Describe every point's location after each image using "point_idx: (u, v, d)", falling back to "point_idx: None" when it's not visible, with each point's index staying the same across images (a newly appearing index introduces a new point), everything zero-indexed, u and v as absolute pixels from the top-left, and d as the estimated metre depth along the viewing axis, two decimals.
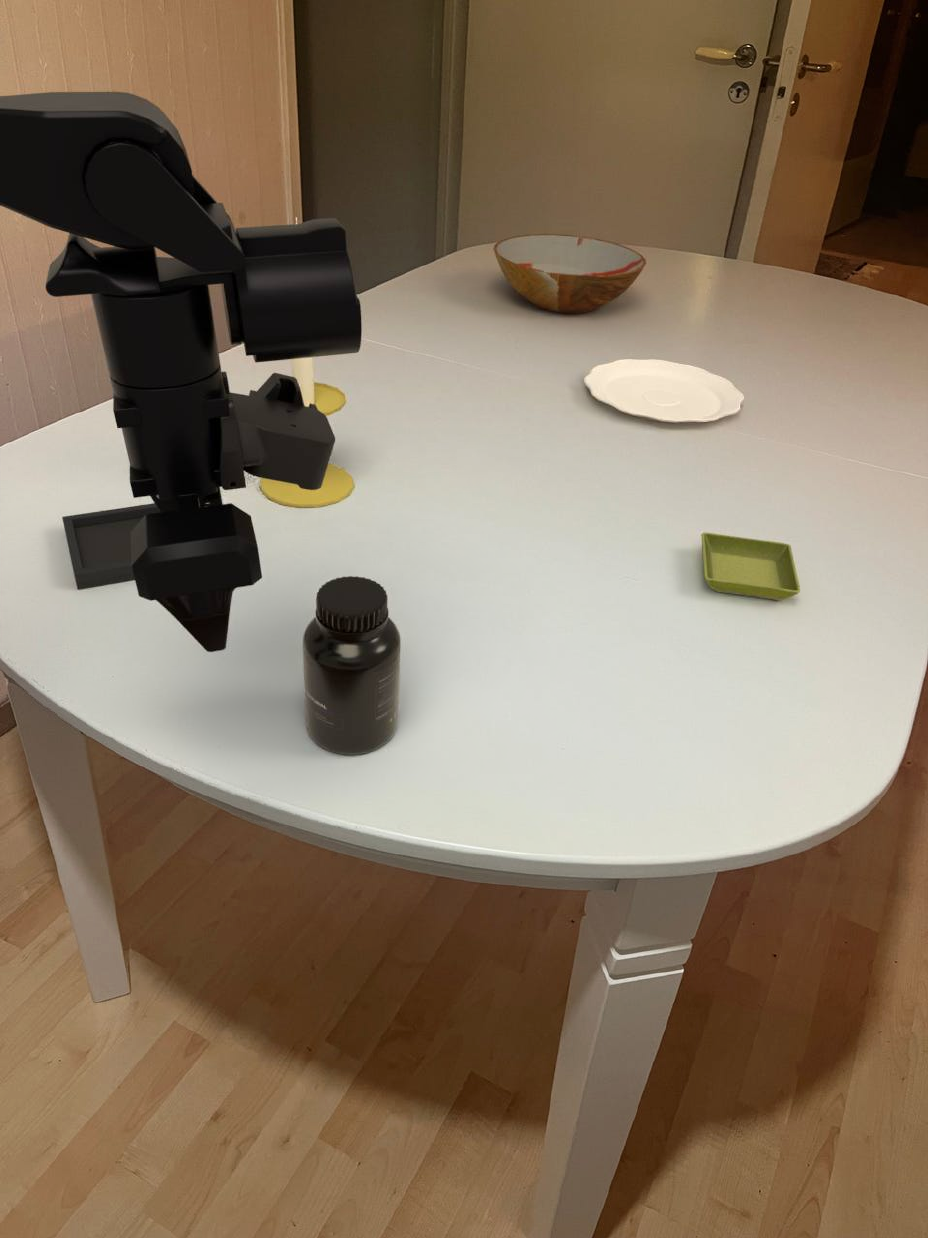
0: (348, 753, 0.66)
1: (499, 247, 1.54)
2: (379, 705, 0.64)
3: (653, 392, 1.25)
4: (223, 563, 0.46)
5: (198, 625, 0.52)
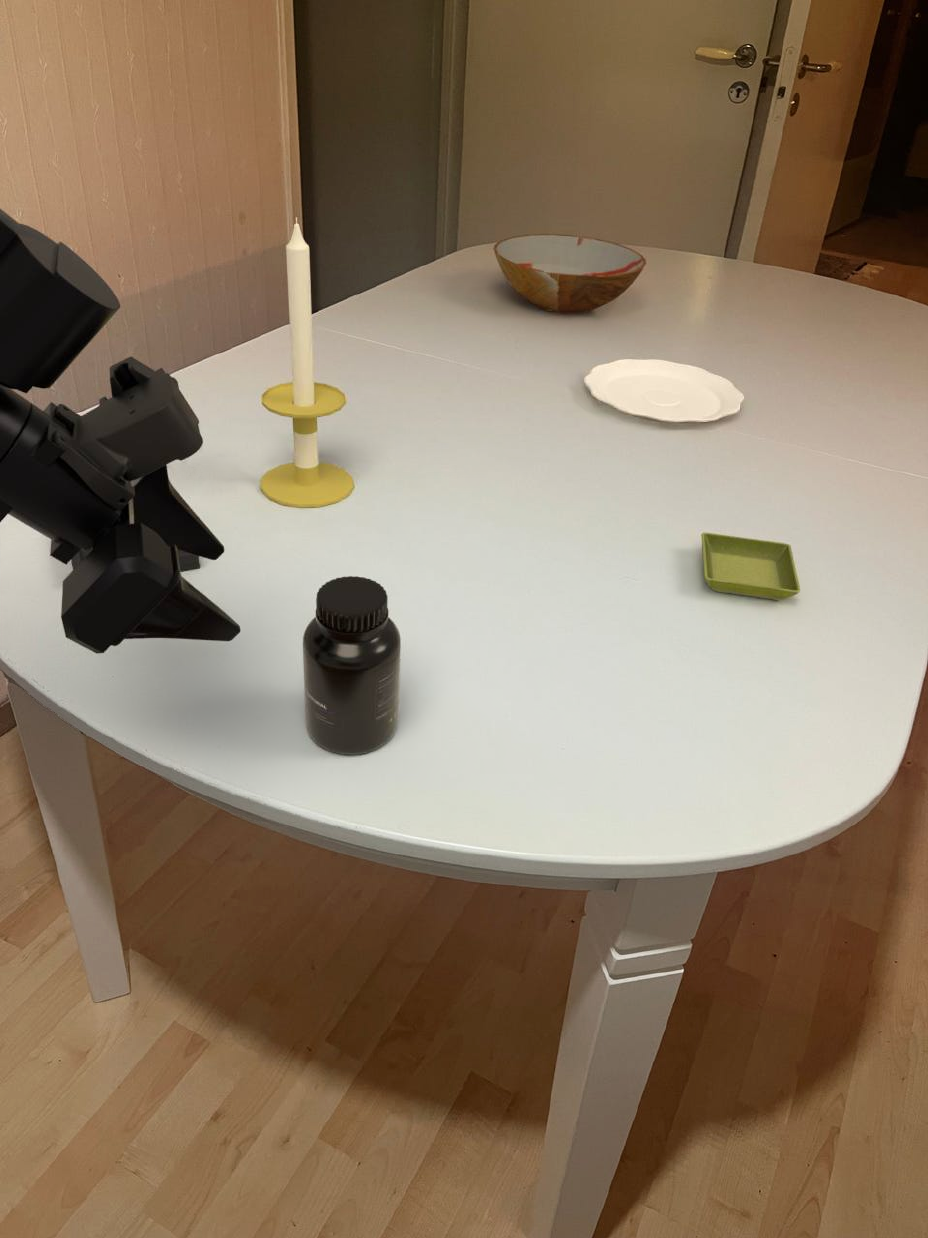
0: (348, 753, 0.66)
1: (499, 247, 1.54)
2: (379, 705, 0.64)
3: (653, 392, 1.25)
4: (125, 589, 0.46)
5: (194, 630, 0.53)
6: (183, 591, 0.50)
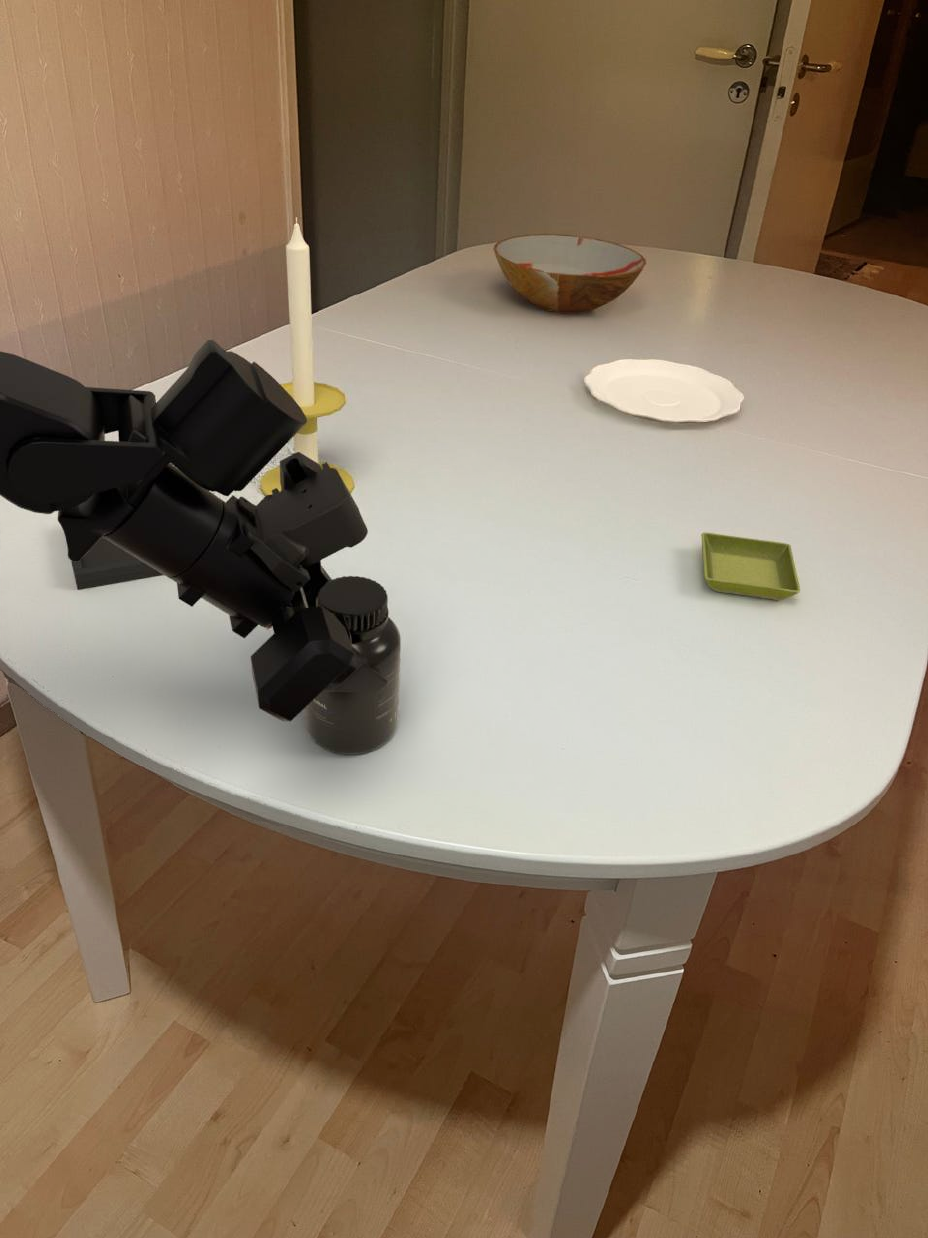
0: (348, 753, 0.66)
1: (499, 247, 1.54)
2: (379, 705, 0.64)
3: (653, 392, 1.25)
4: (315, 667, 0.53)
5: (351, 684, 0.61)
6: None
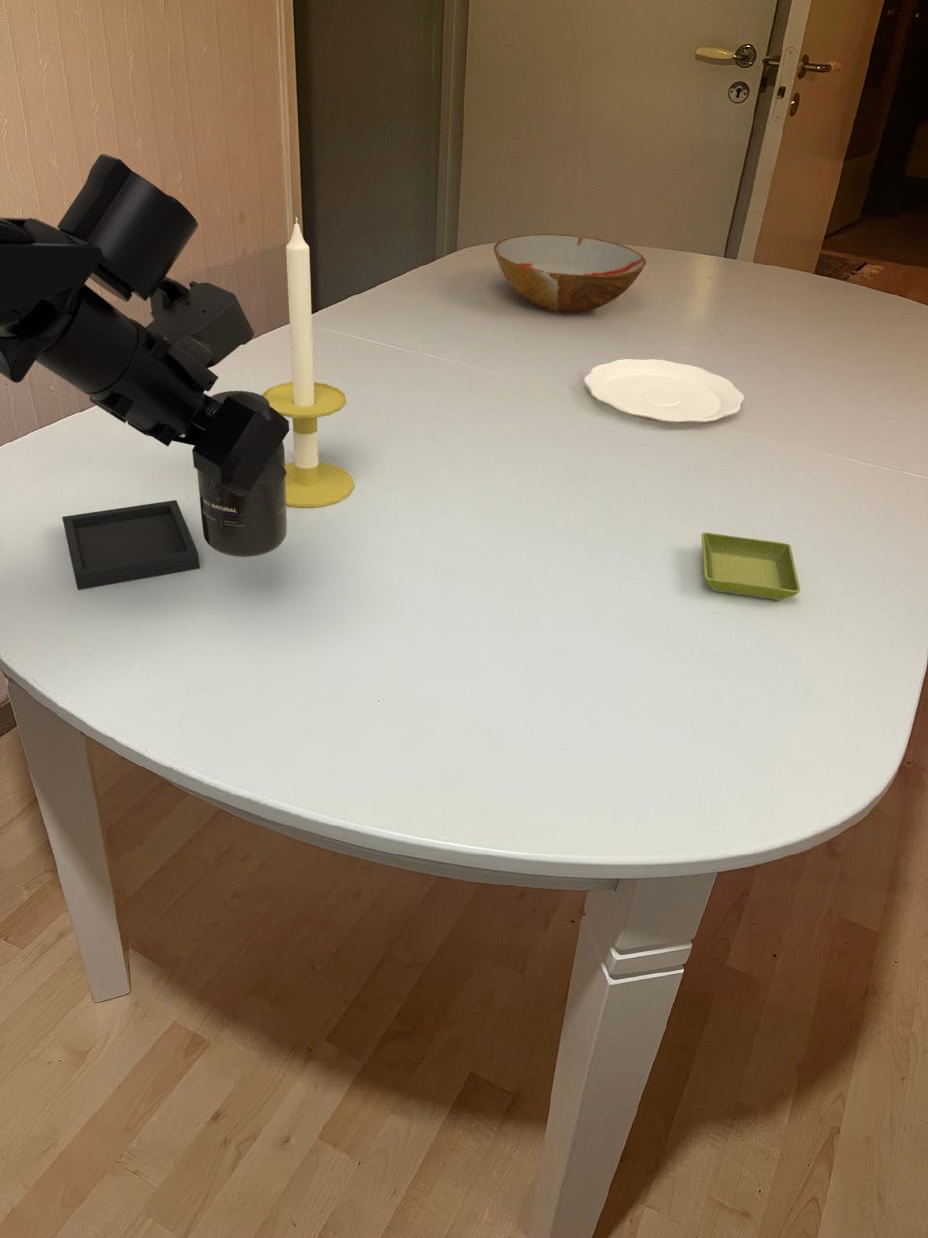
0: (259, 553, 0.75)
1: (499, 247, 1.54)
2: (279, 499, 0.73)
3: (653, 392, 1.25)
4: (265, 434, 0.61)
5: (263, 474, 0.69)
6: None
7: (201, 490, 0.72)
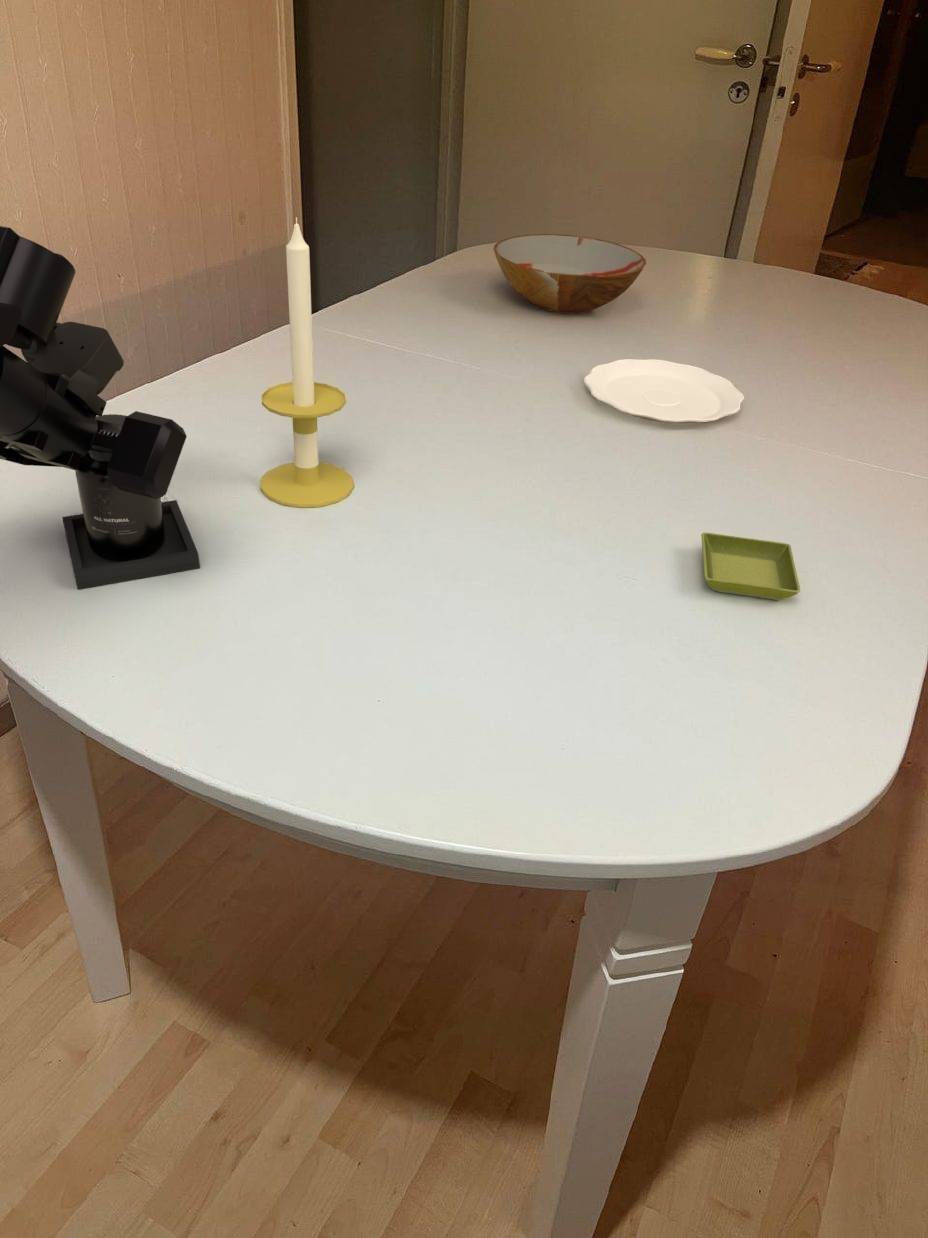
0: (150, 553, 0.84)
1: (499, 247, 1.54)
2: (159, 503, 0.84)
3: (653, 392, 1.25)
4: (171, 443, 0.73)
5: None
6: None
7: (89, 509, 0.81)
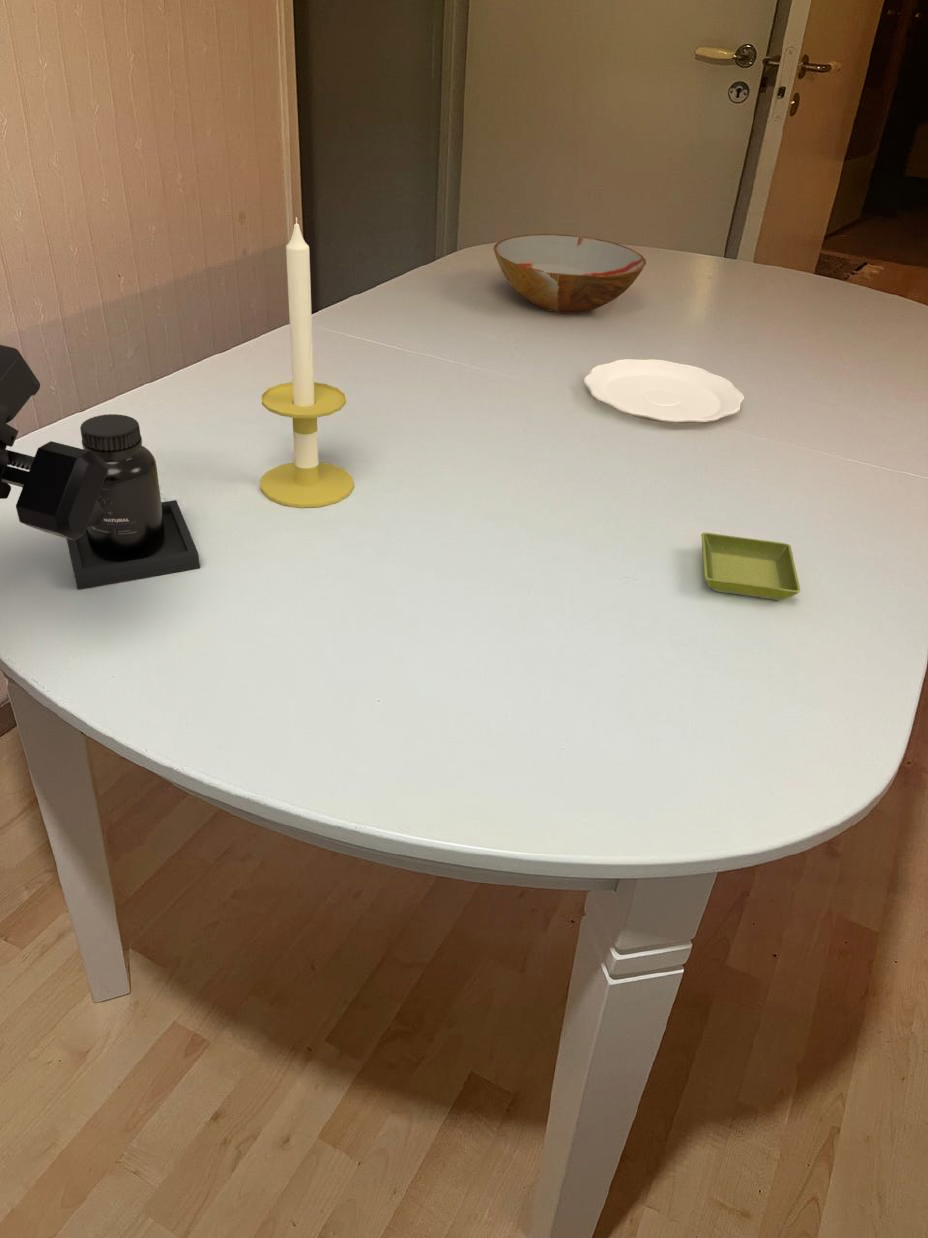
0: (150, 553, 0.84)
1: (499, 247, 1.54)
2: (159, 503, 0.84)
3: (653, 392, 1.25)
4: (89, 477, 0.65)
5: None
6: None
7: None
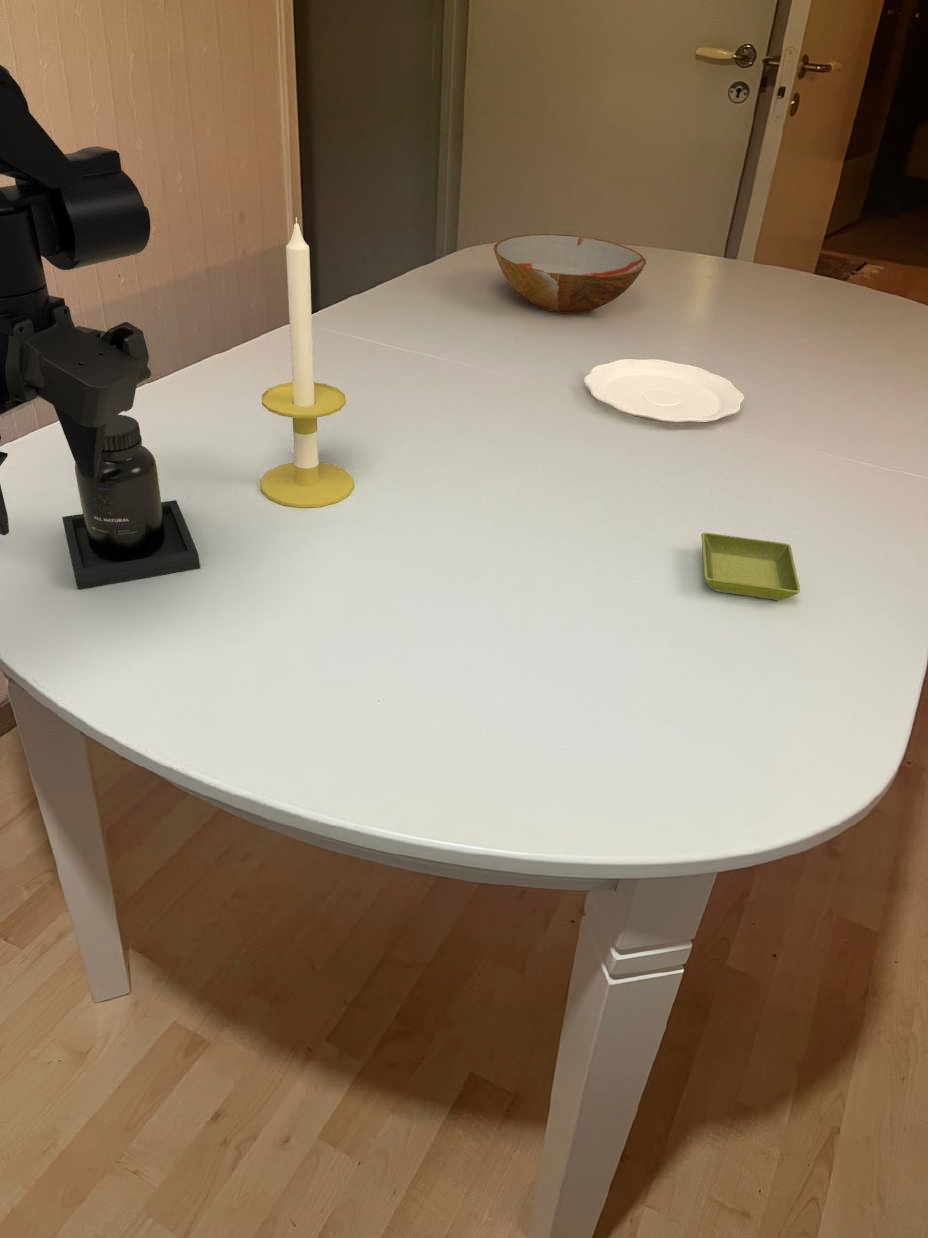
0: (150, 553, 0.84)
1: (499, 247, 1.54)
2: (159, 503, 0.84)
3: (653, 392, 1.25)
4: None
5: None
6: None
7: (89, 509, 0.81)
